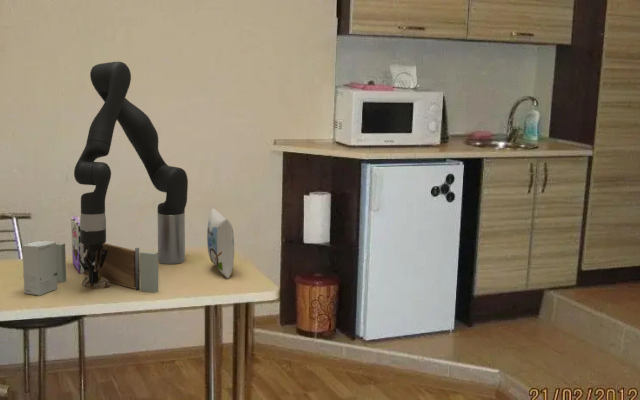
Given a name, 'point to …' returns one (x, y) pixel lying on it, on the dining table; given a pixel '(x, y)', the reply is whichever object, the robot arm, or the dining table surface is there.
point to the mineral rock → (101, 283)
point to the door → (118, 265)
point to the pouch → (220, 242)
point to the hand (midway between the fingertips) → (93, 283)
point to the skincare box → (39, 267)
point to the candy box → (76, 243)
